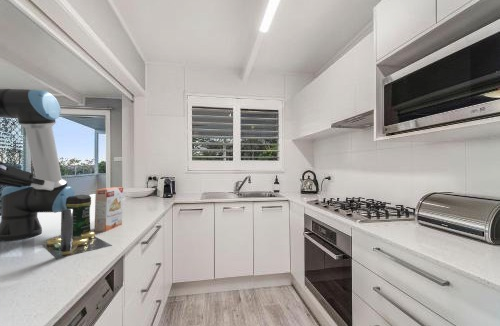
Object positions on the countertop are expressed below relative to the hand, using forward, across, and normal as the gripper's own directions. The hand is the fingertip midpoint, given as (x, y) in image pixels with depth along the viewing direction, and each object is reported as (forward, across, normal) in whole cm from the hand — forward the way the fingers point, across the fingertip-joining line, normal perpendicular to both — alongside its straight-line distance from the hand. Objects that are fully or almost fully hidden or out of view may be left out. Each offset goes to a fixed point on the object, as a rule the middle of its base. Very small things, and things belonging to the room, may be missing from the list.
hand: (52, 186), depth 82 cm
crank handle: (+13, -6, -19) cm, 24 cm away
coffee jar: (+25, -24, -10) cm, 36 cm away
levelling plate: (+16, -8, -19) cm, 26 cm away
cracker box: (+37, -21, -8) cm, 43 cm away
